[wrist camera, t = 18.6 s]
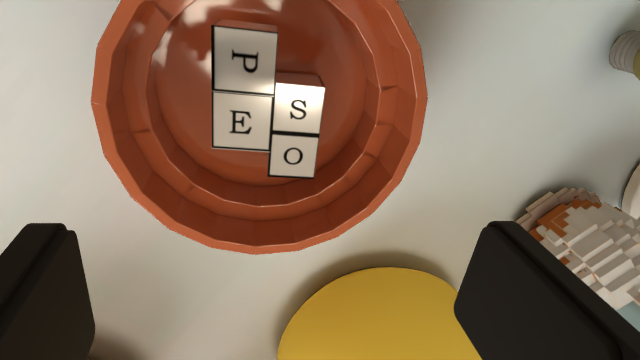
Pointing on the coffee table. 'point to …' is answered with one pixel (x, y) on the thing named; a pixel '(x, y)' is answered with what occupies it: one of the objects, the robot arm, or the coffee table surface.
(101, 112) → the bowl
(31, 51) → the coffee table surface
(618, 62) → the olive rounded lump
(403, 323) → the teapot
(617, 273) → the decorative ornament
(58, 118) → the coffee table surface
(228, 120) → the building blocks
